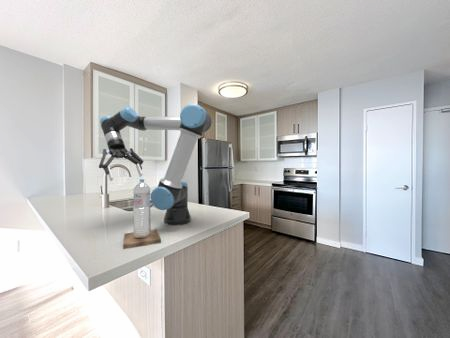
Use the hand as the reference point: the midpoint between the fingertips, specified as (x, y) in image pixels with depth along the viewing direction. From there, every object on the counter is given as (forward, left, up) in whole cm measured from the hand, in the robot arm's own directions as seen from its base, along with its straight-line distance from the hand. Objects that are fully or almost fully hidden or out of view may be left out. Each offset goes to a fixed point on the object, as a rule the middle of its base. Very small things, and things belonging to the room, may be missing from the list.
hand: (127, 177), depth 93 cm
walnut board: (-6, +14, -27) cm, 31 cm away
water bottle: (-6, +14, -25) cm, 29 cm away
